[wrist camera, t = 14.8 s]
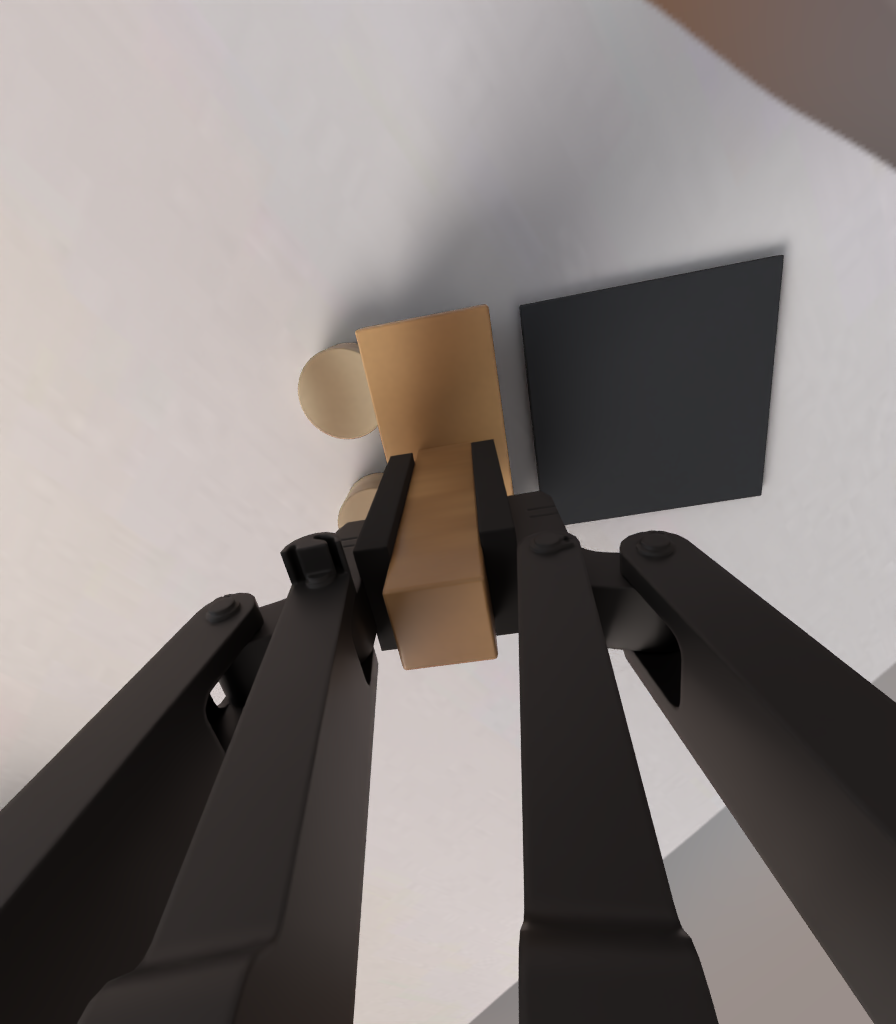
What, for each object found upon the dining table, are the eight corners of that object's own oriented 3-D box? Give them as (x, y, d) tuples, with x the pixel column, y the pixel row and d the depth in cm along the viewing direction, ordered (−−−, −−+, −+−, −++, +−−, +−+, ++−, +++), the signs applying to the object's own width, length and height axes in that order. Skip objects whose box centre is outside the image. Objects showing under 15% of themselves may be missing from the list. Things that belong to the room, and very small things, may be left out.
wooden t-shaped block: (482, 301, 19) (522, 322, 7) (515, 541, 23) (573, 793, 11) (372, 323, 19) (241, 375, 8) (425, 554, 23) (393, 811, 12)
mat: (778, 255, 19) (784, 254, 18) (757, 492, 23) (761, 495, 22) (518, 305, 20) (520, 305, 19) (543, 524, 24) (544, 528, 23)
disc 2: (414, 467, 23) (410, 483, 21) (427, 535, 24) (424, 555, 22) (339, 477, 23) (328, 493, 21) (356, 544, 24) (347, 565, 22)
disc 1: (384, 335, 20) (376, 340, 18) (402, 419, 22) (396, 432, 20) (300, 350, 20) (285, 356, 19) (324, 433, 22) (312, 445, 20)
